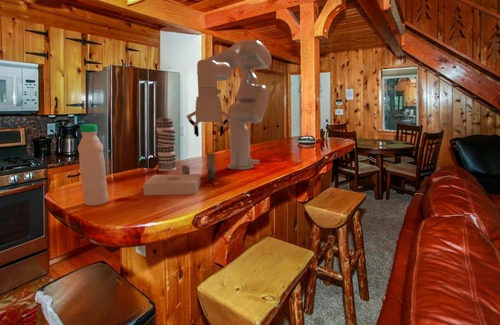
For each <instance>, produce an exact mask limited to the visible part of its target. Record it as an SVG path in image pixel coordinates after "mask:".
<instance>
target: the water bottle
mask: <svg viewBox="0 0 500 325" xmlns="http://www.w3.org/2000/svg"><path fill="white" fill-rule="evenodd" d="M79 131H80V134H81V136H82V137H81V139H80V141H79V144H78V147H77V151H78V153H79V154H78V157H79V158H78V159H79V160H78V161H79V170H80V178H81V181H82V183H81V188H82V192H83V193H82V194H83V198H82V199H83V204H84V205H85V206H89V207H95V206H101V205H103V204H106V203H108V201H109V192H108V182H107V179H106V178H107V177H106V176H107V172H106V170H107V169H106V161H105V155H104V145H103V144H102V142H101V140H100V138H99V137H98V136H97V135H98V132H99V131H98V125H97V124H93V123H85V124H81V125H79Z"/></svg>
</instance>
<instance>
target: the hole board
mask: <svg viewBox="0 0 500 325" xmlns="http://www.w3.org/2000/svg"><path fill="white" fill-rule="evenodd" d="M200 186H201V174H199V173H190V174H182V173H181V174H152V176H150V178H148V179H147V180H146V181H145V182H144V183H143V196H175V195H176V196H177V195H197V194H198V191H199V189H200Z"/></svg>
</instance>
